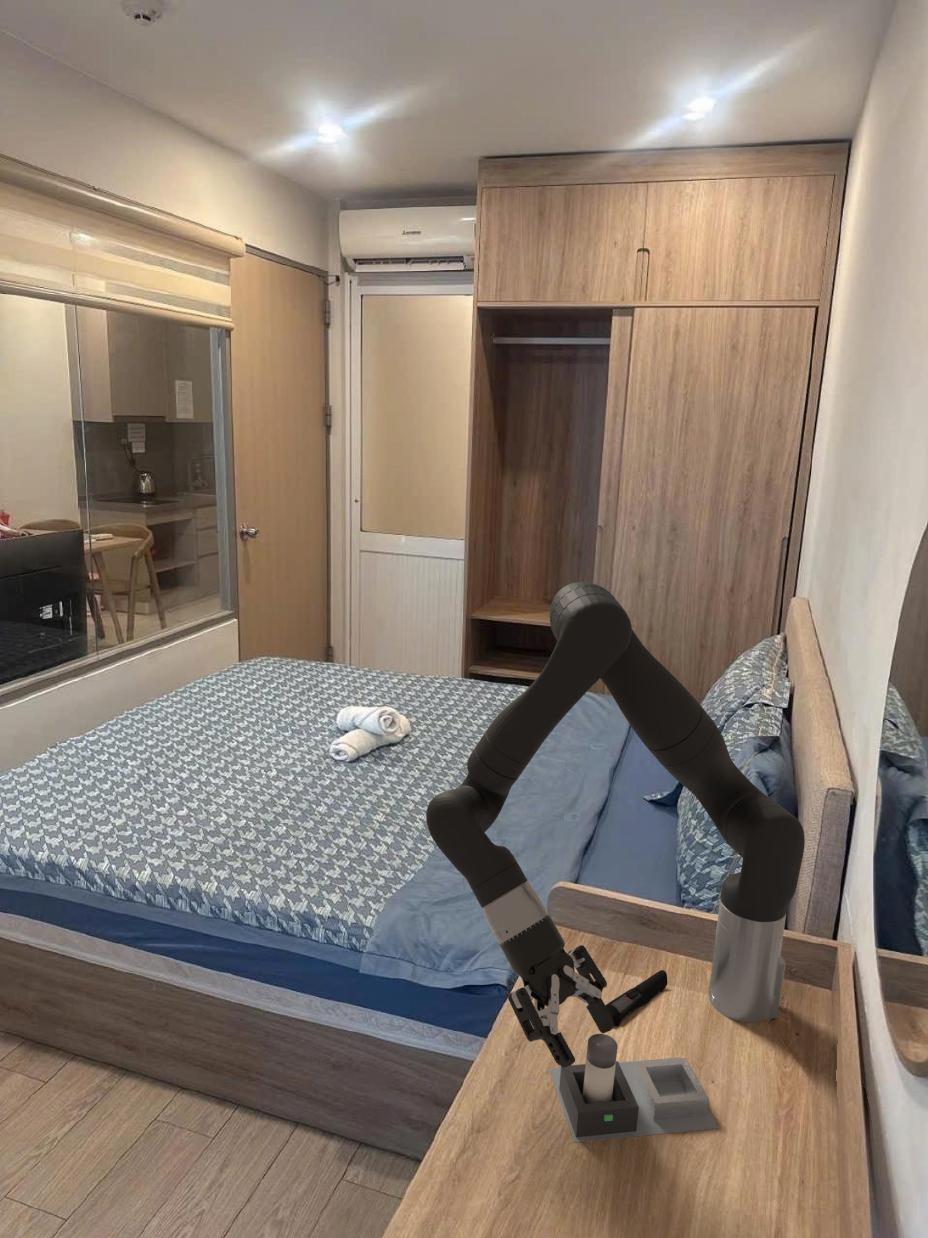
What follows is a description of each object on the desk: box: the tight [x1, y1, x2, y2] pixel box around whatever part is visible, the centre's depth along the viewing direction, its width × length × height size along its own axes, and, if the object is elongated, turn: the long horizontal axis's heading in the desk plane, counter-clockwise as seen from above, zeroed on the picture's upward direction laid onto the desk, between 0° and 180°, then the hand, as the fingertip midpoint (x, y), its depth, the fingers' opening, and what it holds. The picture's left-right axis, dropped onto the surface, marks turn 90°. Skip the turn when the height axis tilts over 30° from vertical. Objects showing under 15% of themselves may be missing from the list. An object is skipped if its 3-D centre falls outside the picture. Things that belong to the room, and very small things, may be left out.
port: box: [559, 1060, 639, 1137], centre depth 107 cm, size 8×8×4 cm
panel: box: [548, 1056, 720, 1144], centre depth 110 cm, size 18×12×1 cm, turn 99°
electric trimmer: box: [605, 969, 668, 1028], centre depth 129 cm, size 4×16×3 cm, turn 134°
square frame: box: [634, 1057, 710, 1121], centre depth 110 cm, size 7×7×2 cm
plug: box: [583, 1033, 618, 1104], centre depth 107 cm, size 4×4×10 cm
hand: (589, 1047), depth 107 cm, fingers open, 8 cm apart
